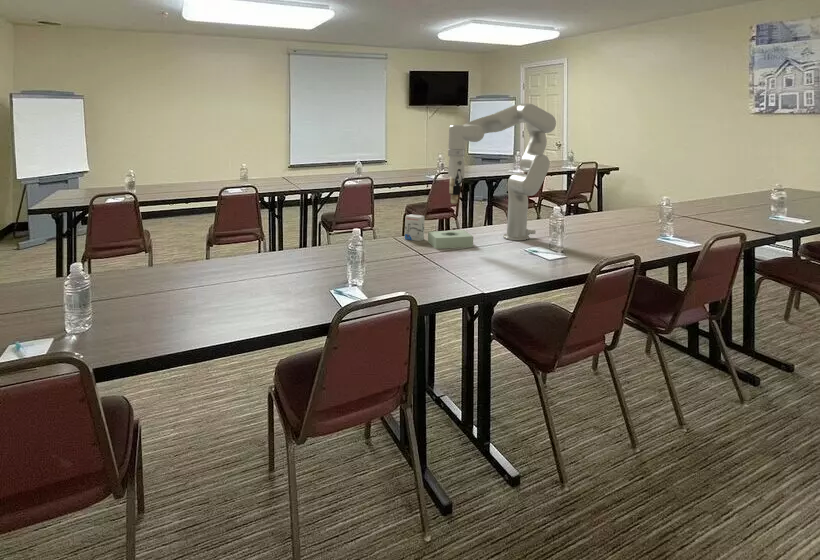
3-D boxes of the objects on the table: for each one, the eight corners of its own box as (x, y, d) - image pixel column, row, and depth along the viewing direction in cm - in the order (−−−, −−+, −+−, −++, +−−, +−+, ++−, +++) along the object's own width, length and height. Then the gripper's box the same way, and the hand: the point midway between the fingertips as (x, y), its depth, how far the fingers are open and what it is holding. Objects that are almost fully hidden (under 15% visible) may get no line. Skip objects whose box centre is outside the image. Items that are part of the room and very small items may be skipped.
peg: (457, 202, 255) (458, 176, 252) (460, 203, 251) (462, 177, 247) (447, 202, 254) (448, 176, 251) (450, 203, 250) (451, 177, 246)
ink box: (404, 239, 268) (404, 215, 265) (409, 237, 273) (409, 214, 269) (420, 241, 265) (420, 217, 261) (424, 239, 269) (424, 215, 265)
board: (463, 240, 267) (463, 230, 265) (473, 246, 254) (473, 236, 252) (427, 241, 263) (428, 231, 262) (435, 248, 250) (435, 238, 249)
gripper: (470, 154, 239) (468, 196, 244) (458, 152, 255) (456, 191, 260) (454, 154, 237) (452, 196, 242) (443, 151, 253) (441, 191, 258)
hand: (454, 193), depth 251 cm, fingers closed on peg, 4 cm apart
